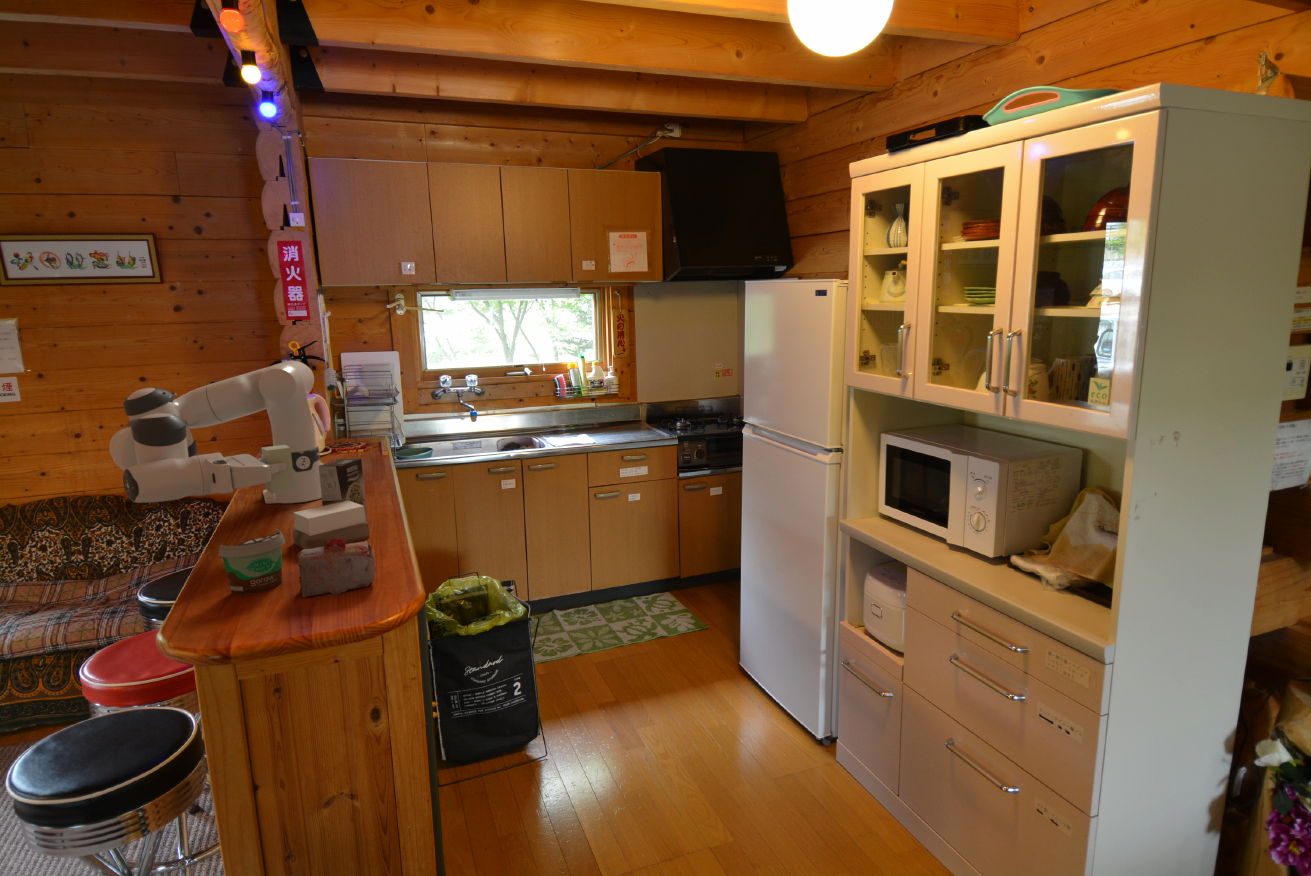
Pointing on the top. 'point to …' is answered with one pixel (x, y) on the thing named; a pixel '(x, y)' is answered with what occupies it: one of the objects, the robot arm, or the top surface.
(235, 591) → the food container
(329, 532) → the walnut slab
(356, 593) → the top surface
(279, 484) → the green block
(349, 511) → the white slab
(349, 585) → the food item
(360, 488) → the coffee box
